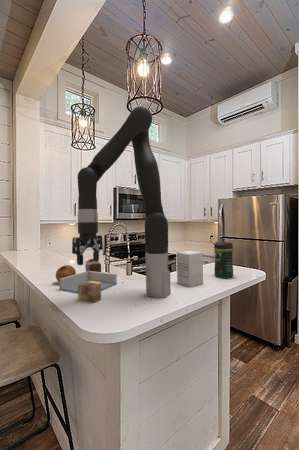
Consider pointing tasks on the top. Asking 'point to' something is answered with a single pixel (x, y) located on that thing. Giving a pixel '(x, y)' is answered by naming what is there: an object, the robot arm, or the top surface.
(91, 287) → the walnut brick
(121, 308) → the top surface
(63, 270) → the onion
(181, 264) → the supplement box
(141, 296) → the top surface
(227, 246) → the coffee jar
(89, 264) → the food item
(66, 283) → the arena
